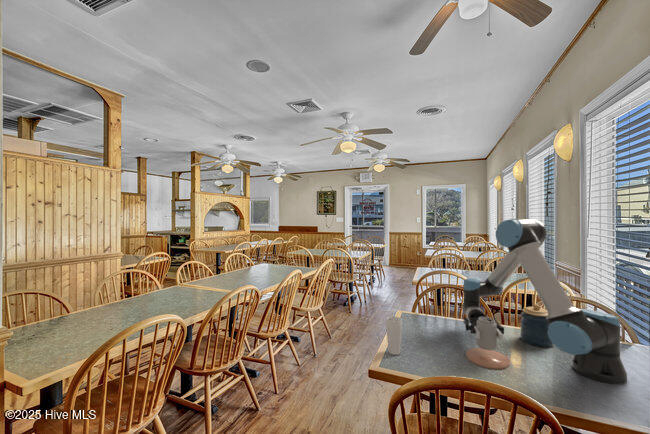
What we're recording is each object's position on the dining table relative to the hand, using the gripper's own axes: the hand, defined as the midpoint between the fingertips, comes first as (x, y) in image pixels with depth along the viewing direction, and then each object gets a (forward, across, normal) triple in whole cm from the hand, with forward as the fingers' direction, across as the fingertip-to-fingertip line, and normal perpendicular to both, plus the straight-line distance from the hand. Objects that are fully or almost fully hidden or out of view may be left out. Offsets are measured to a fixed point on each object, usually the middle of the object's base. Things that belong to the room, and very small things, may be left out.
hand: (489, 336), depth 118 cm
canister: (-28, -27, -12) cm, 41 cm away
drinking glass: (-1, +38, -12) cm, 40 cm away
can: (-5, 0, -7) cm, 8 cm away
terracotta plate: (-5, 0, -11) cm, 12 cm away
